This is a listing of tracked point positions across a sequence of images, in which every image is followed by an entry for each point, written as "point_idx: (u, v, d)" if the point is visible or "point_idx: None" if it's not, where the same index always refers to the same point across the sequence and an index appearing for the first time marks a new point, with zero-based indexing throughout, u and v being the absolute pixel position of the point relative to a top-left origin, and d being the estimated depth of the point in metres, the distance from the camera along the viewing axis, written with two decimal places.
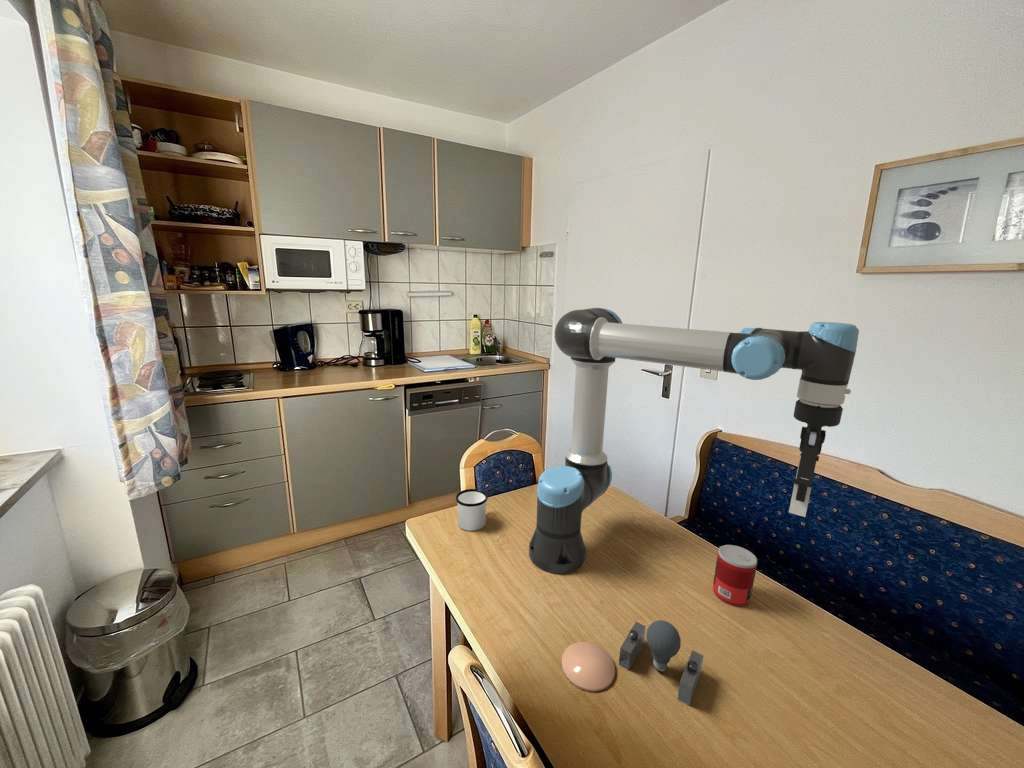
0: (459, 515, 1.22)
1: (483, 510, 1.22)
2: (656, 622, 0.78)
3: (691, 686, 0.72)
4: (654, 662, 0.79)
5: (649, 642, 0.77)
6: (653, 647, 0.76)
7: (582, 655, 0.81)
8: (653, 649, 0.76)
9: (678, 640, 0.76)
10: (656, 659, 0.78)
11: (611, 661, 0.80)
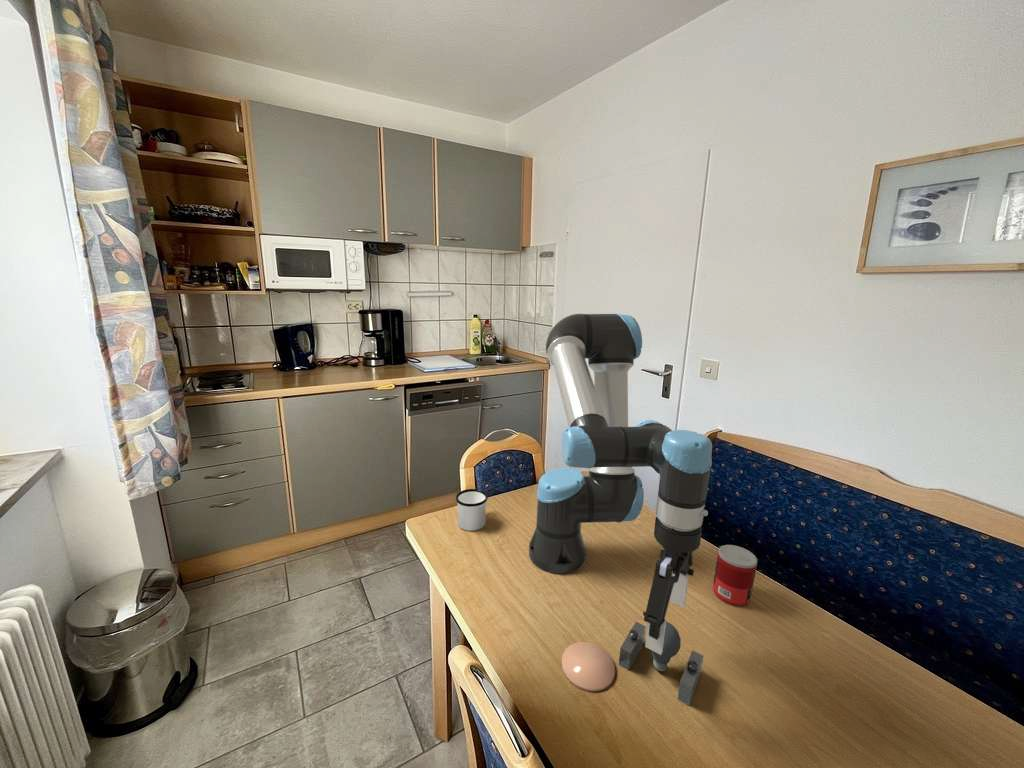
0: (459, 515, 1.22)
1: (483, 510, 1.22)
2: None
3: (691, 686, 0.72)
4: (654, 662, 0.79)
5: None
6: None
7: (582, 655, 0.81)
8: None
9: (678, 640, 0.76)
10: (656, 659, 0.78)
11: (611, 661, 0.80)
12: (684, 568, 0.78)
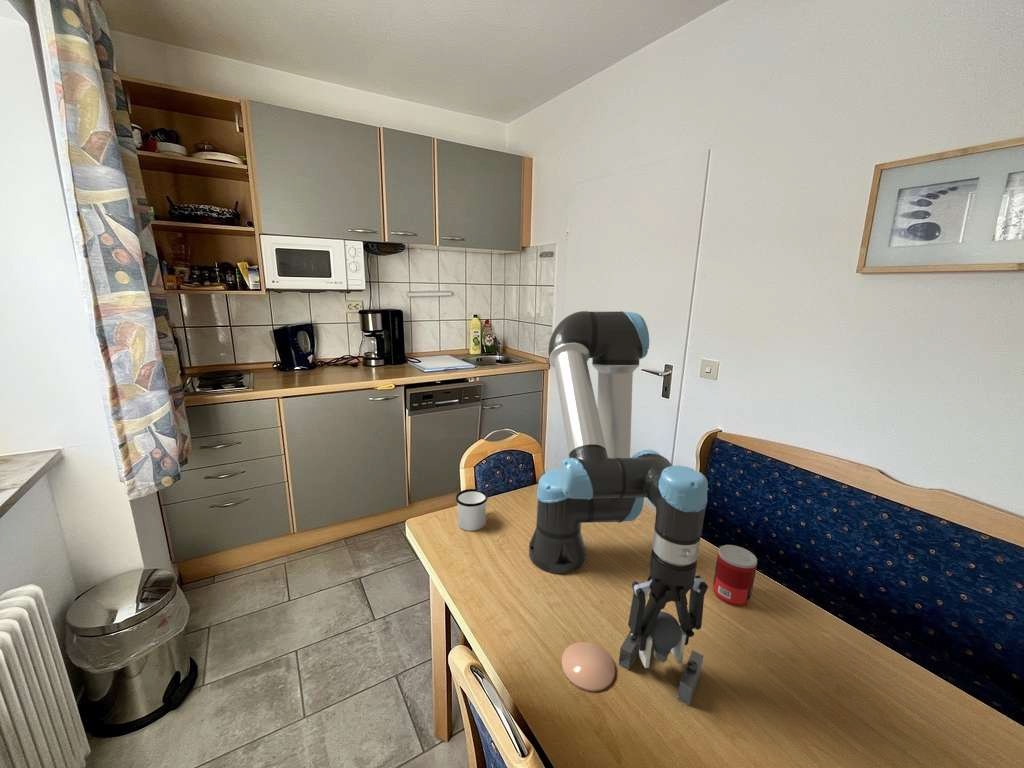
0: (459, 515, 1.22)
1: (483, 510, 1.22)
2: (661, 612, 0.78)
3: (691, 686, 0.72)
4: (654, 650, 0.79)
5: None
6: None
7: (582, 655, 0.81)
8: None
9: (673, 635, 0.75)
10: (653, 645, 0.78)
11: (611, 661, 0.80)
12: (682, 618, 0.76)
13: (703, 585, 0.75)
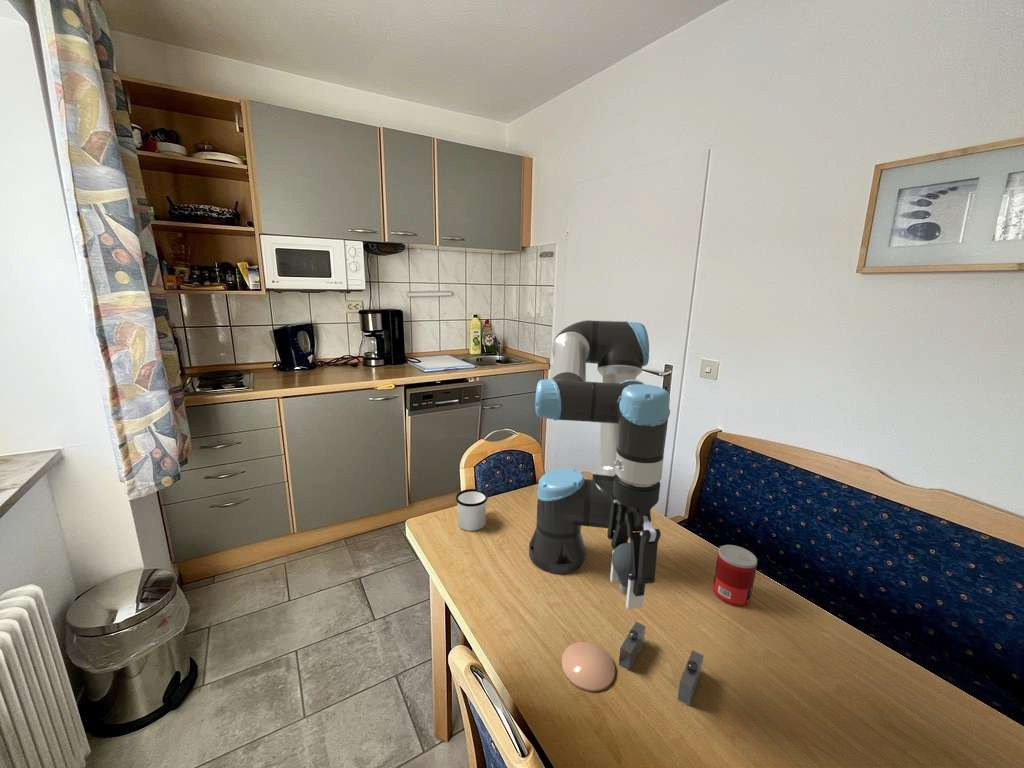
0: (459, 515, 1.22)
1: (483, 510, 1.22)
2: None
3: (691, 686, 0.72)
4: None
5: None
6: None
7: (582, 655, 0.81)
8: None
9: (616, 556, 0.73)
10: None
11: (611, 661, 0.80)
12: None
13: (644, 530, 0.66)
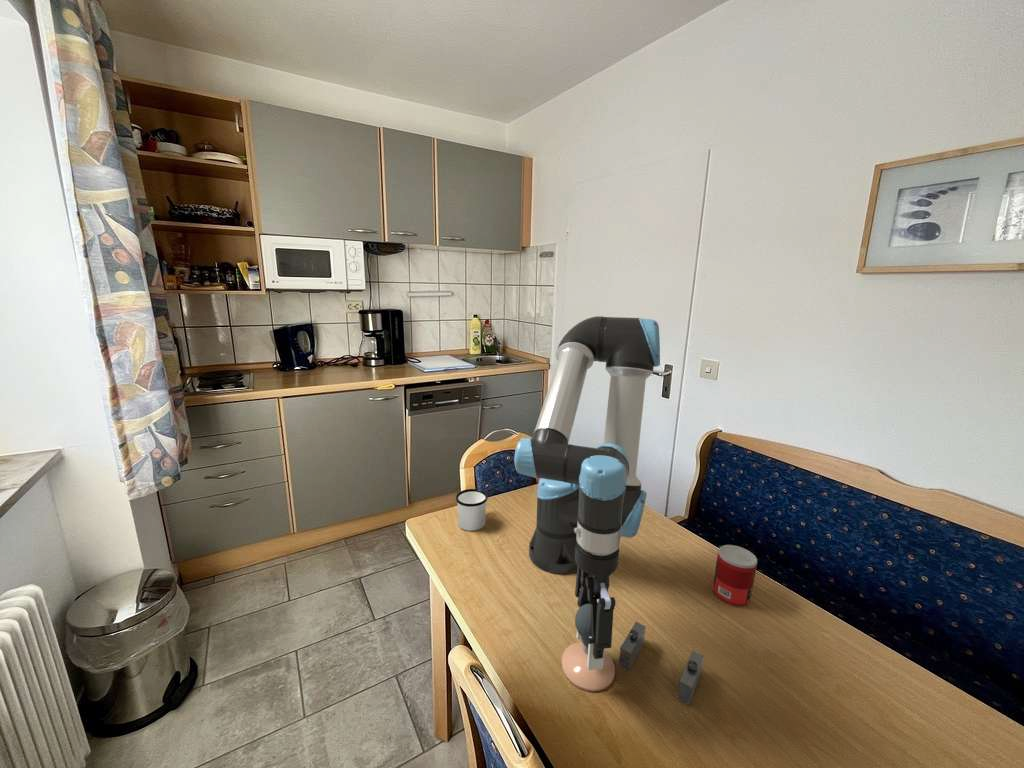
0: (459, 515, 1.22)
1: (483, 510, 1.22)
2: None
3: (691, 686, 0.72)
4: None
5: None
6: None
7: (582, 655, 0.81)
8: None
9: (578, 617, 0.76)
10: None
11: (611, 661, 0.80)
12: None
13: (599, 598, 0.69)
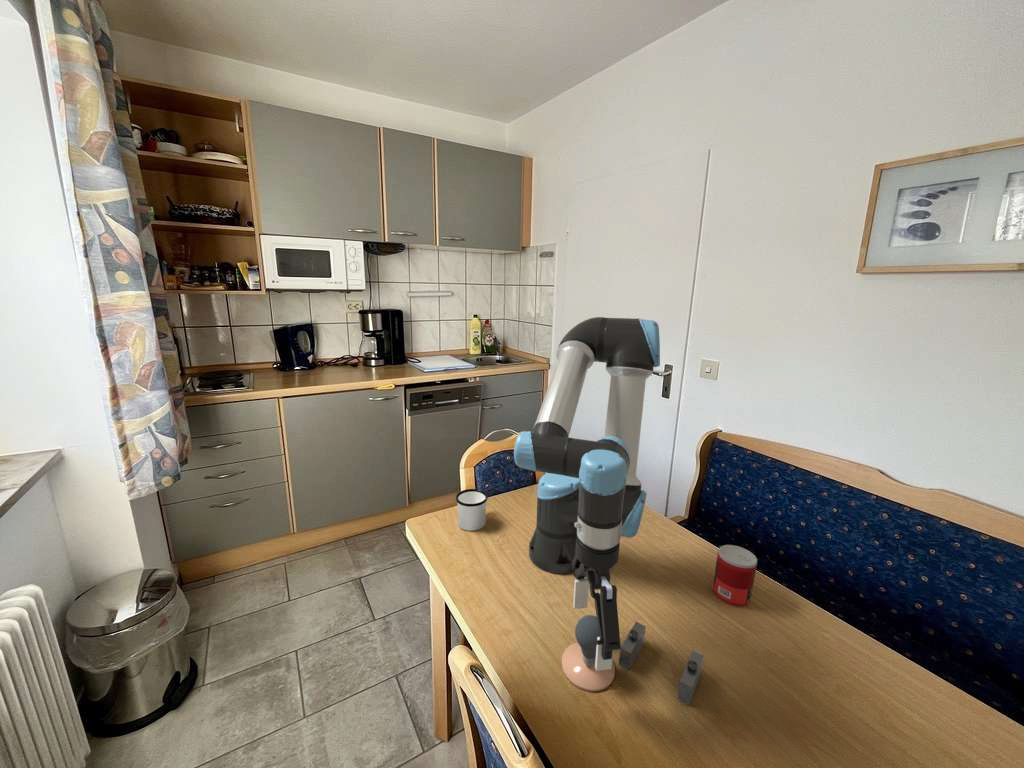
0: (459, 515, 1.22)
1: (483, 510, 1.22)
2: None
3: (691, 686, 0.72)
4: None
5: None
6: None
7: (582, 655, 0.81)
8: None
9: (578, 629, 0.77)
10: None
11: None
12: None
13: (600, 587, 0.69)
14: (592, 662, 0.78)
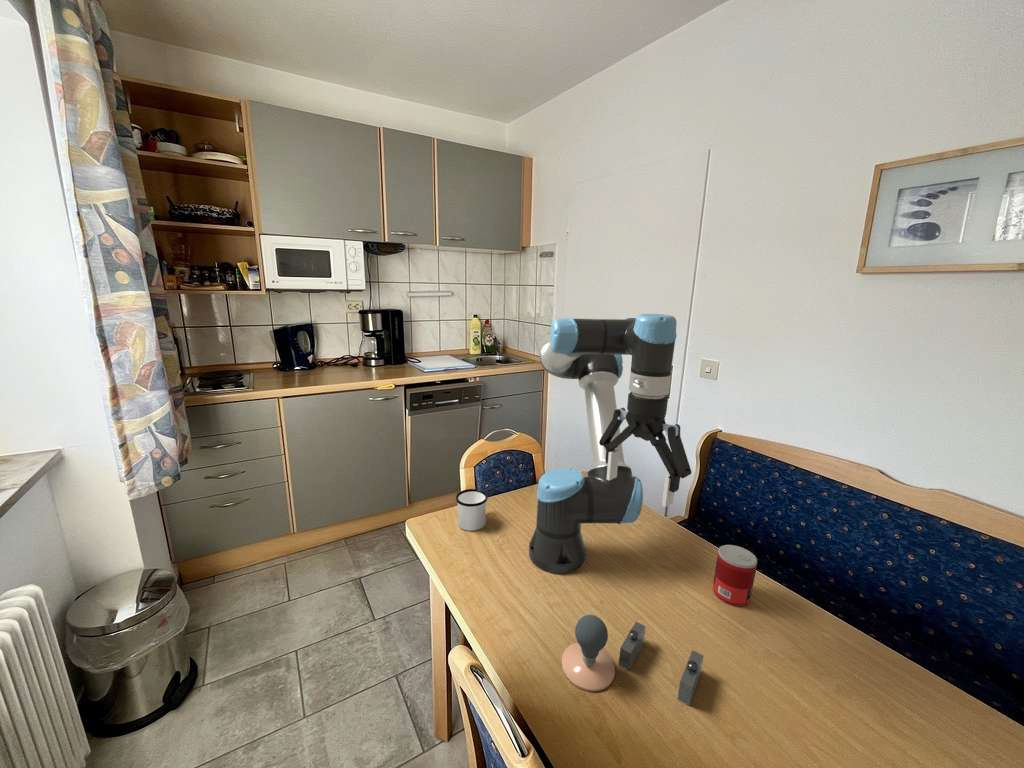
0: (459, 515, 1.22)
1: (483, 510, 1.22)
2: (601, 621, 0.77)
3: (691, 686, 0.72)
4: None
5: None
6: None
7: (582, 655, 0.81)
8: None
9: (578, 629, 0.77)
10: None
11: (611, 661, 0.80)
12: None
13: (668, 427, 0.78)
14: (592, 662, 0.78)
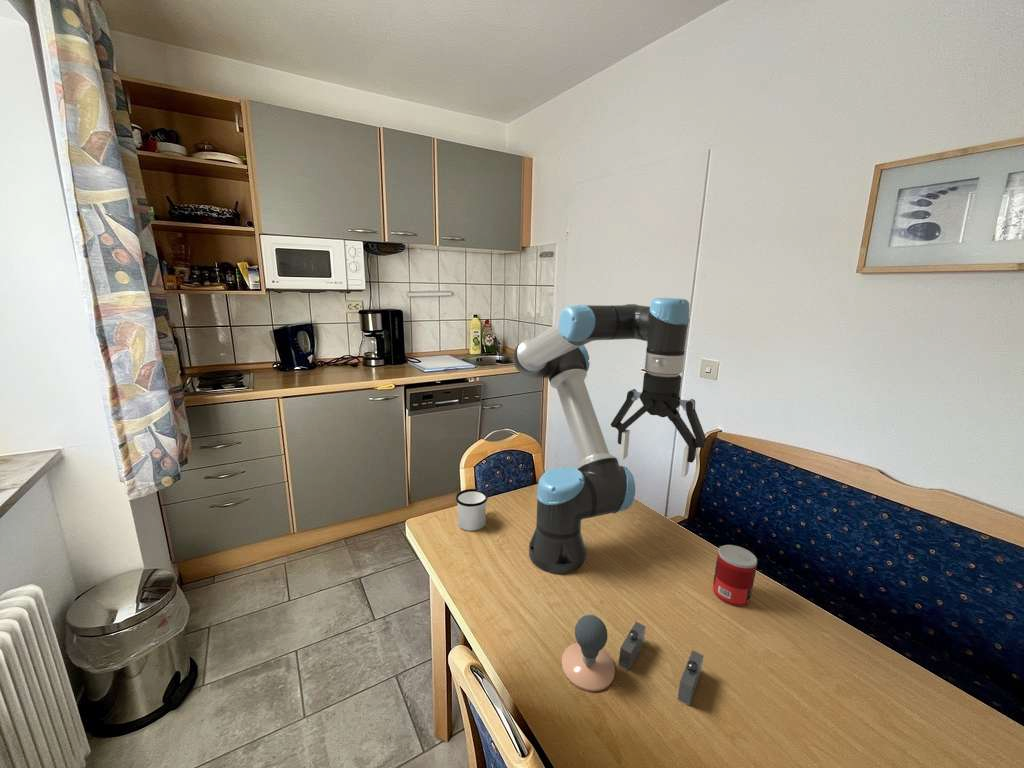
0: (459, 515, 1.22)
1: (483, 510, 1.22)
2: (600, 621, 0.77)
3: (691, 686, 0.72)
4: None
5: None
6: None
7: (582, 655, 0.81)
8: None
9: (578, 629, 0.77)
10: None
11: (611, 661, 0.80)
12: None
13: (686, 402, 0.85)
14: (592, 662, 0.78)
